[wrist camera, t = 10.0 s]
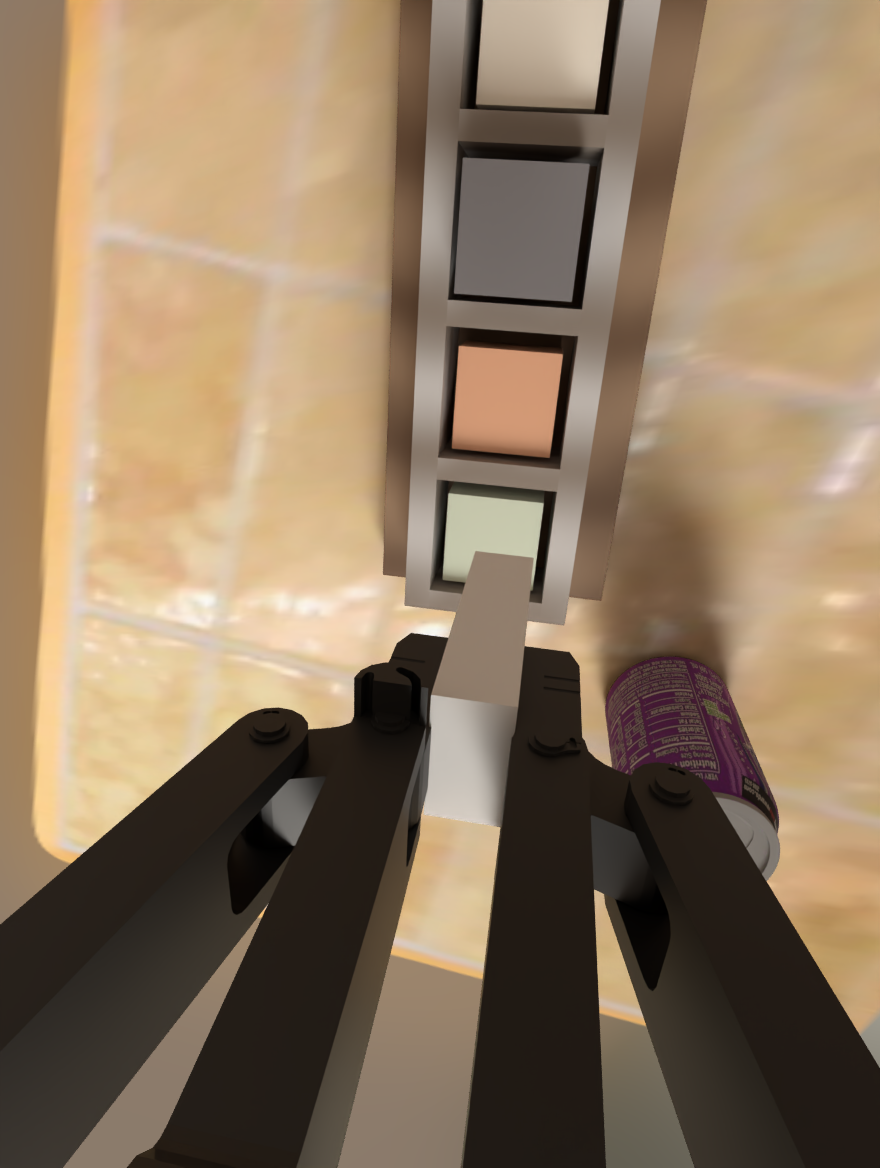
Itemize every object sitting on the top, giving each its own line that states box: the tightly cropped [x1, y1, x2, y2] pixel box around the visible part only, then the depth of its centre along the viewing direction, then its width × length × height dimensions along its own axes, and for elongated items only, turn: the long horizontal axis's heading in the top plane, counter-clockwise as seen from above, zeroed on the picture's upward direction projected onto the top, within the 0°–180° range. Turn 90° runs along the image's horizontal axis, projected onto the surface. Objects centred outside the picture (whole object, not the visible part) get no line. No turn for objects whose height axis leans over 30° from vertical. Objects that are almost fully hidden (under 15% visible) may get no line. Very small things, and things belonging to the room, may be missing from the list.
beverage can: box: [605, 657, 780, 881], centre depth 36 cm, size 7×7×12 cm
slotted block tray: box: [383, 0, 707, 625], centre depth 31 cm, size 28×12×6 cm, turn 176°
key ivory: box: [476, 0, 609, 114], centre depth 26 cm, size 4×4×3 cm
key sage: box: [443, 481, 544, 590], centre depth 34 cm, size 4×4×3 cm
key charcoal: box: [454, 158, 590, 302], centre depth 26 cm, size 4×4×3 cm
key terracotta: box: [452, 341, 563, 458], centre depth 31 cm, size 4×4×3 cm
